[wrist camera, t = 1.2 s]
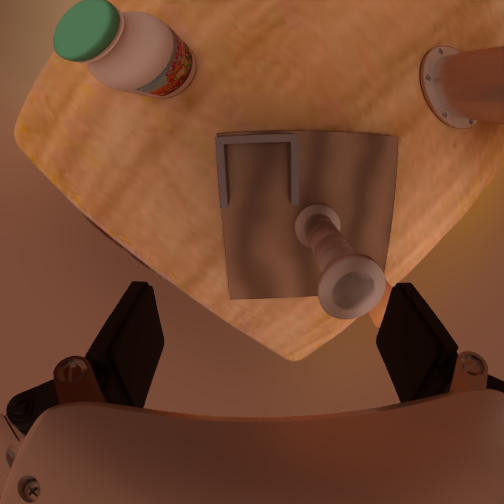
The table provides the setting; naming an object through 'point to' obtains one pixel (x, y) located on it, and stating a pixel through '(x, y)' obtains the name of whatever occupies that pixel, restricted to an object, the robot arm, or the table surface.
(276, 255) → the board
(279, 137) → the notch block
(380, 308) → the plug
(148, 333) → the robot arm
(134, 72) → the milk bottle
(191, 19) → the table surface
